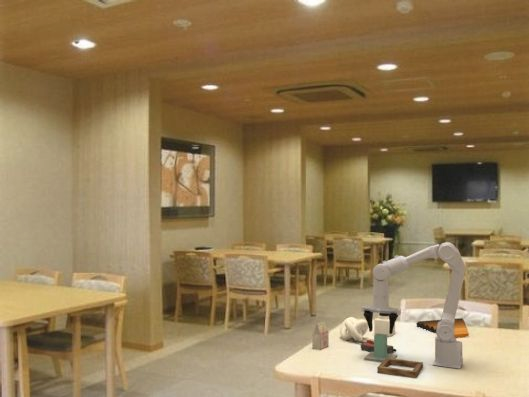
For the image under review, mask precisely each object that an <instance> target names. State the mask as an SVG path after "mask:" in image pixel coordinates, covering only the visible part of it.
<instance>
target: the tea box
mask: <svg viewBox="0 0 529 397" xmlns="http://www.w3.org/2000/svg"><path fill="white" fill-rule="evenodd" d="M329 333H330V332H329V330H328V327H327V324H326V321H322V322H319V323H316V324H315V328H314V330H313V332H312V336H311V338H312V344H311V345H312V346H311V348H312V350H317V351H322V350H324V349H327V348H330V347H329V346H330V345H329V344H330V343H329V341H330V339H329Z"/></svg>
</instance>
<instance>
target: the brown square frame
mask: <svg viewBox="0 0 529 397" xmlns="http://www.w3.org/2000/svg"><path fill="white" fill-rule="evenodd" d="M390 366H394V367H390ZM395 366H396V367H397V368H396V367H395ZM398 367H402V368H398ZM403 367H404V368H403ZM405 368H410V369H405ZM423 368H424V362H422V361H416V360H415V361H413V360H407V359H399V358H395V359H392V358H386V359H385V360H384V361H383V362H380V363H379V365H377V374H382V375H388V376H389V375H391V376H396V377H405V378H410V379H411V378H413V379H417V377H418V376H419V375H420V373H421V372H422V370H423ZM411 369H412V370H411Z"/></svg>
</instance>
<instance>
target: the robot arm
mask: <svg viewBox="0 0 529 397" xmlns="http://www.w3.org/2000/svg"><path fill="white" fill-rule="evenodd" d="M429 258H431V259H438V258H440V259H441V260H442V262H444V263H445V264H447V266H448V267H449V269H450V270H451V273H450V278H449V283H448V288H447V293H446V296H445V299H444V305H443V309H442V314H441V317H440V319H439V320H440V321H439V322H438V323H437V329H436V334H435V335H436V336H435V337H434V344H435V345H434V346H435V348H434V353H435V354H434V361H433V363H432V366H435V367H436V366H437V367H443V368H452V369H461V367H462V365H463V361H464V359H463V341H459V340H457V338H455V337H454V335H455V331H454V329H455V327H454V321H455V319H456V314H457V311H458V306H459V301H460V297H461V293H462V287H463V284H464V280H465V275H466V271H467V269H466V268H467V266H466V264H465V262H464V259H463V257H462V255H461V253H460V251H459V249H458V248H457V247H456V245H455V244H453V243H452V242H450V241H449V242H448V241H445V242H443V243H441V244H438V243H437V244H434V245H431V246H428V247H425V248H424V249H421V250H419V251H417V252H414V253H412V254H410V255H408V256H404V255H398V254H397V255H394V256H393V258H391V259H389V260H387V261H386V260H383V261H382V263H379V264H378V263H377V265H375V266H374V268H373V270H372V276H373V280H372V281H373V284H372V289H373V291H372V298H373V299H372V305H362V306H361V311H360V312H362V313H363V312H364V313H363V317H364V318H365V319H364V320H365V321H366V322H367V323H368V332H370V333H372V332H373V331H374V330H373V317H374V313H377V314H378V313H387V314H391V315H389V322H390V329H389V333H390V334H392V333H393V327H394V324H395V325H396V321H397V319H398V317H399V316H401V315H402V308H395V307H390V305H389V304H390V302H389V300H390V298H389V294H390V293H389V289H390V284H389V276H392V277H393V276H395V275H397V274H400V273H402V272H405V271H407V270H408V269H409V266H411V265H412V264H415V263H418V262H421V261H423V260H426V259H429ZM383 311H385V312H383Z"/></svg>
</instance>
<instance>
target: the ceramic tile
mask: <svg viewBox="0 0 529 397" xmlns="http://www.w3.org/2000/svg"><path fill="white" fill-rule="evenodd" d="M386 358H392V359H397V358H398V354H395V353H391V354H388V353H387V356H386V357H385V358H379V357H374V352H368V354H366V355H365V356H364V358H363V360H364V361H369V362H377V363H382V362H383V361H384V360H385V359H386Z"/></svg>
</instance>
